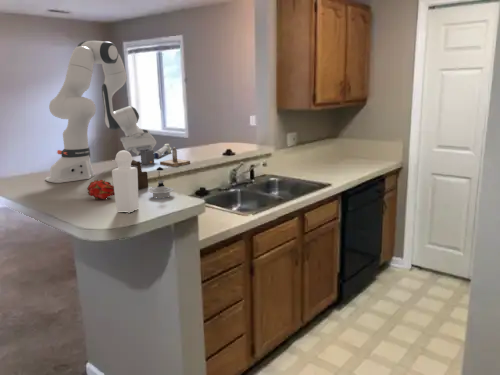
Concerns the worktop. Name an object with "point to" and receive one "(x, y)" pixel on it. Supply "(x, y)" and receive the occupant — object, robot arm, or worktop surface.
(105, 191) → the dragon fruit
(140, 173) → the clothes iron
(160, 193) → the grey knobbed stem base
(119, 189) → the white bottle
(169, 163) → the post plate
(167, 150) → the grey dark-ended cylinder
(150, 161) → the dark grey box
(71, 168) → the robot arm
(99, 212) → the worktop surface
